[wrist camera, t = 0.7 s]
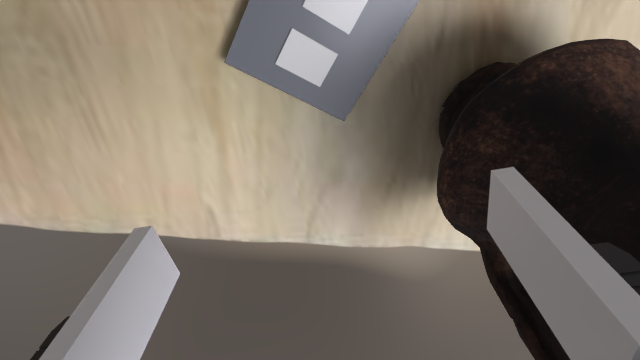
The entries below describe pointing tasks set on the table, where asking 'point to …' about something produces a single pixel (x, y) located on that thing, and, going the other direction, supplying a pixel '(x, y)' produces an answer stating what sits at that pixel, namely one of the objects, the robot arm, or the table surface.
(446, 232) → the table surface
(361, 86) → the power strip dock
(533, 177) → the jug
